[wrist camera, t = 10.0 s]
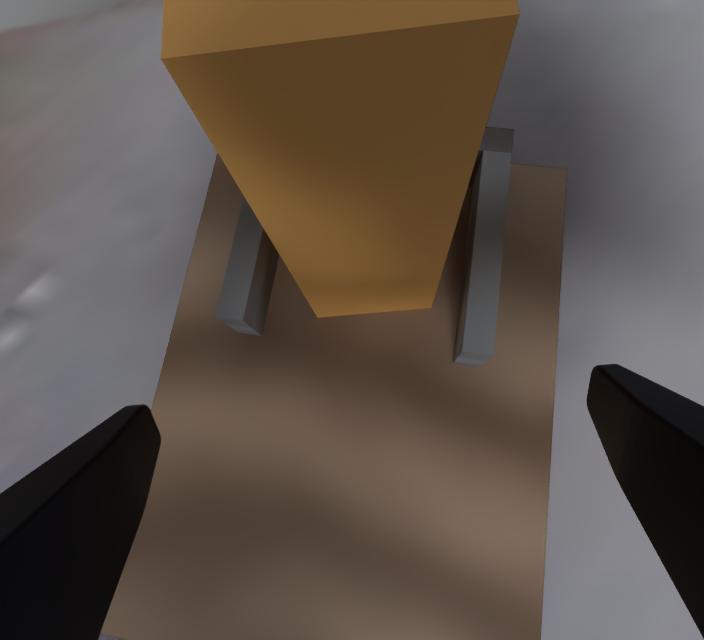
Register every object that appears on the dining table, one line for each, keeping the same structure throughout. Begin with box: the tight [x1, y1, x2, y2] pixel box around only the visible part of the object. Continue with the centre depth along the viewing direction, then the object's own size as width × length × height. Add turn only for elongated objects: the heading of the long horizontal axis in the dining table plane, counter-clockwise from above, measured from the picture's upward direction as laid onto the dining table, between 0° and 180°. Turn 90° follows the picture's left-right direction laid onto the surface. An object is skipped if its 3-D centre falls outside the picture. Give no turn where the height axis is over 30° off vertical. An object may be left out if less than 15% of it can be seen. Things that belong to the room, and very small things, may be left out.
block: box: [161, 0, 520, 318], centre depth 13 cm, size 4×4×13 cm
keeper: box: [100, 127, 567, 640], centre depth 17 cm, size 20×15×4 cm
